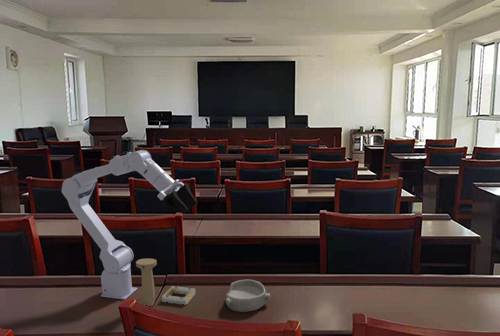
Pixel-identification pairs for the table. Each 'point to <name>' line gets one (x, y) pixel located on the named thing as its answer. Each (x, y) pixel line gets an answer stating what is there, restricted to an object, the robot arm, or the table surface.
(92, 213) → the robot arm
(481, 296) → the table surface
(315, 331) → the table surface
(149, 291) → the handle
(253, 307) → the dish
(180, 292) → the square frame
